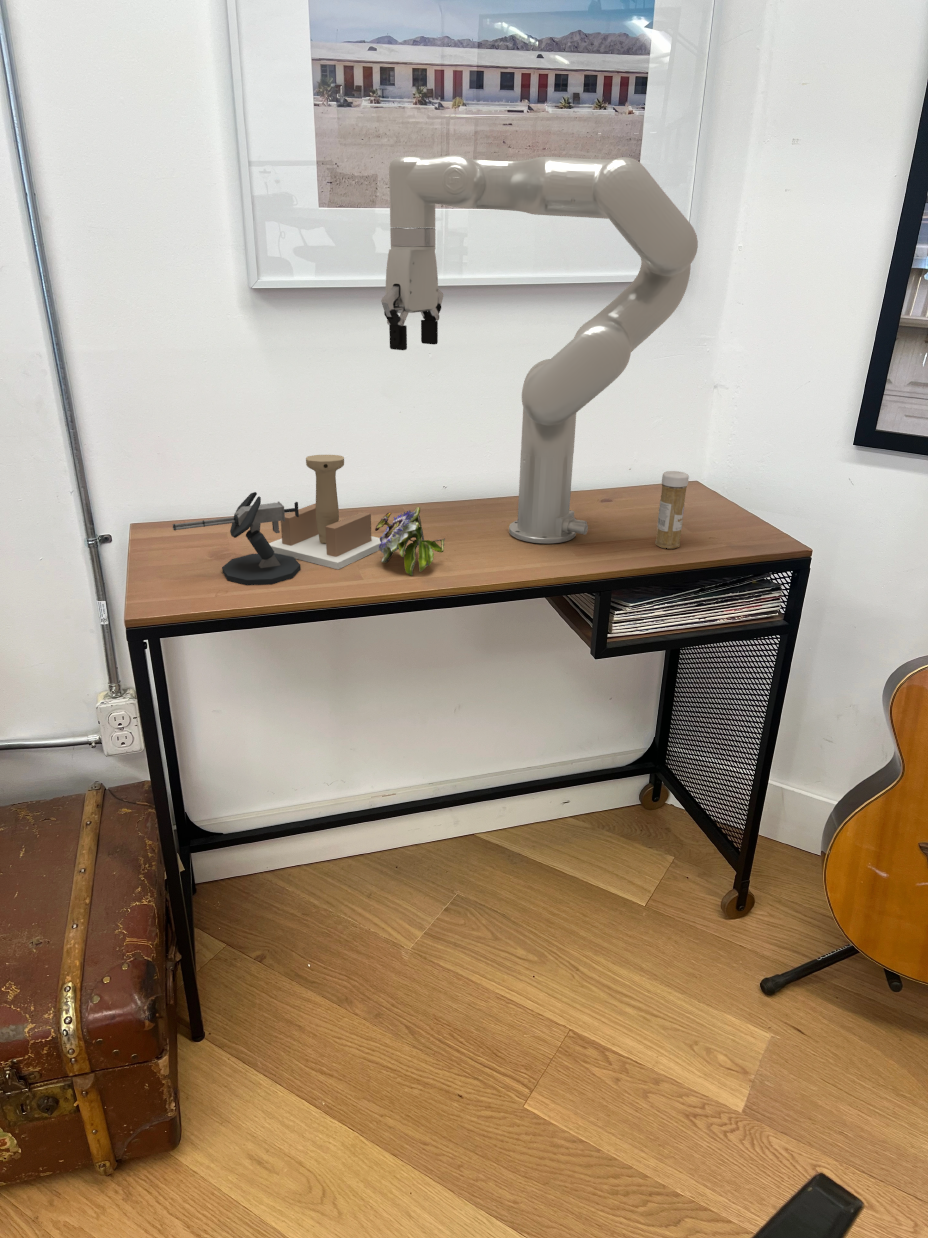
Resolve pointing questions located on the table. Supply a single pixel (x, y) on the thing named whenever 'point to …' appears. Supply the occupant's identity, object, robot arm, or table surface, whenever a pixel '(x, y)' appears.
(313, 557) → the white base with blocks
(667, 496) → the sprinkles bottle
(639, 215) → the robot arm
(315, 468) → the handle
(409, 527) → the passion flower
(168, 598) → the table surface
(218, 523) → the gun turret
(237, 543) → the table surface
